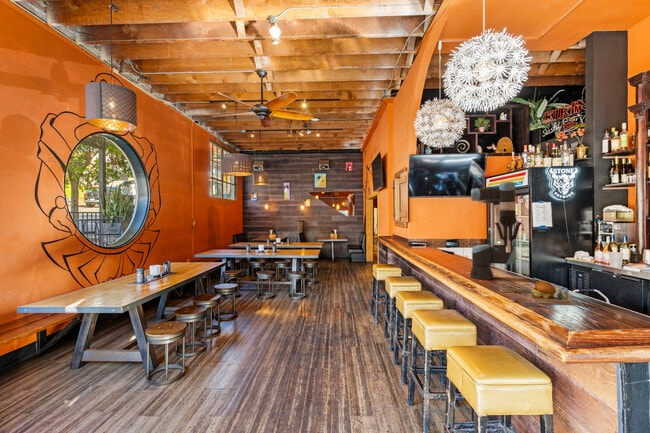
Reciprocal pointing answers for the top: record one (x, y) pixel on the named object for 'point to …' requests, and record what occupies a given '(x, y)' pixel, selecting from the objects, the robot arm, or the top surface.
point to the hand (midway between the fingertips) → (508, 252)
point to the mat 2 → (531, 304)
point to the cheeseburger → (543, 290)
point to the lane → (561, 294)
